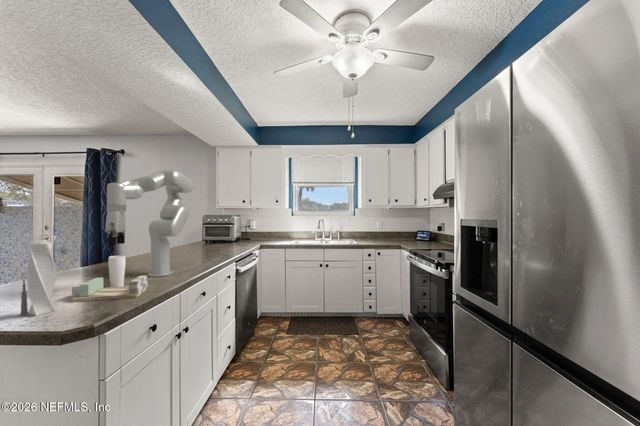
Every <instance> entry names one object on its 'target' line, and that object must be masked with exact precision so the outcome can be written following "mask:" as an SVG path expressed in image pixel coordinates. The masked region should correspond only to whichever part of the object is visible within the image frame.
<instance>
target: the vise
mask: <svg viewBox="0 0 640 426" xmlns="http://www.w3.org/2000/svg"><path fill="white" fill-rule="evenodd" d="M148 289H149V284H148V274H147V275H146V274H143V275H138V276H137V277H136V278H134V279H132V280H130V281H129V284H128V285H124V286H122V287H110V286H109V287H106V286H105V287H104V288H102V289H100V290H98V291H96V292H94V293H93V294H91V295H89V296H80V295H75V296H74V297H72V298H71V303H78V302H79V303H80V302H93V301H94V302H95V300H98V301H109V300H111V301H112V299H113V300H123V299H125V300H126V299H136V298H138V297H139V296H141V295H142V294H143V293H145V291H147V290H148Z"/></svg>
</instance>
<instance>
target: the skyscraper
mask: <svg viewBox="0 0 640 426" xmlns="http://www.w3.org/2000/svg"><path fill="white" fill-rule="evenodd" d="M45 238H53V239H52V242H50V241H49V242H48V241H47V240H45ZM56 238H57V236H55V235H46V236H45V235H44V236H41V237H39V238H38V239H37V240H35V241H31V242H29V243H27V246H28V249H29V253H30V256H29V259H28V263H27V271H26V282H27V283H25V279H23V280H22V291H21V293H20V294H21V297H20V299H21V301H20V303H21V304H20V314H19V316H22V317H27V318H30V319H31V318H33V317H38V316H42V315H46V314H50V313H54V312H56V310H55V307H54V305H53V303H52V300H51V299H52V296H53V294H54V293H53V292H54V288H55V284H56V283H55V282H56V263H55V261H54V260H55V259H54V257H53V255H52V249H53V247H54V242H55V241H56ZM42 239H43V240H42ZM26 284H27V287H26ZM26 288H27V289H28V290H26ZM27 293H28V295H29V299H30V302H31V306H30V307H29V310H28V296H27Z"/></svg>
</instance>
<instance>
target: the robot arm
mask: <svg viewBox="0 0 640 426" xmlns="http://www.w3.org/2000/svg"><path fill="white" fill-rule="evenodd" d="M106 185H107V186H106V212H107V213H106V221H105V233H106V234H107V246H108V247H110V246H111V247H113V246H116V245H117V244H118V245H119V244H120V245H122V244H125V242H126V241H125V239H126V237H125V236H126V215H125V214H126V212H127V200H138V199H141V198H142V197H143V195H144V193H149V192H153V191H156V190H158V189H160V188H162V187H164V186H165V191H166V195H167V199H166V201H165V204H164V205H163V207H162V208H161V210H160V212H159V218H160V219H156V220H153V221H150V223H149V225H148V233H149V238H150V271H149V272H148V273H147V277H153V278H154V277H156V278H157V277H164V276H165V277H166V276H170V275H172V274H173V273H174V272H173V270H171V269H170V268H171V265H170V263H171V262H170V260H171V259H170V258H171V256H170V253H171V252H170V251H171V249H170V247H171V246H170V245H171V243H170V241H169V239H168V237H169V238H171V237H177V236H179V235H180V234H181V232H182V230H183V228H184V227H185V225H186V222H187V221H188V217H189V210H188V207H186V206H185V205H182V204H183V199H182V198H181V196H180V194H183V193H184V194H185V193H191V192H192V191H193V190H194V183H193V181H192V180H191V179H190V178H189V177H187V176H186V175H185V174H184V173H182V172H181V171H179V170H175V169H169V170H166V169H165V170H159V171H156V172H154V173H152V174H149V175H145V176H142V177H138V178H134V179H129V180H127V181H126V180H125V181H123V182H111V183H110V182H109V183H108V184H106ZM116 234H117V235H116Z"/></svg>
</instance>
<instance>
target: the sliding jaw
mask: <svg viewBox="0 0 640 426" xmlns="http://www.w3.org/2000/svg"><path fill="white" fill-rule="evenodd" d="M102 288H105V287H104V277H95V278H93V279H90V280H88V281H85V282H84V281H83V282H80V283H78V284H76V285H73V286H71V296H78V295H80V296H89V295H91V294H93V293H94V292H96V291H98V290H100V289H102Z"/></svg>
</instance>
